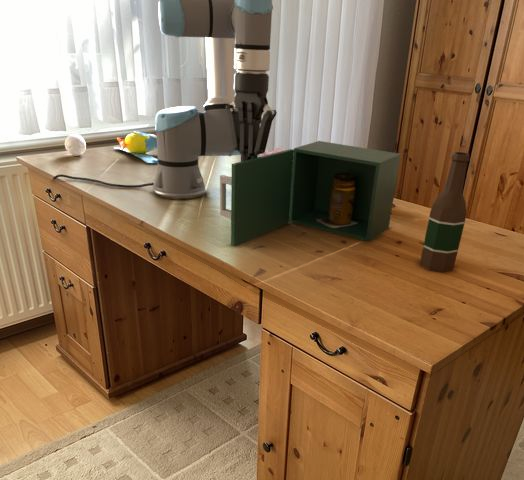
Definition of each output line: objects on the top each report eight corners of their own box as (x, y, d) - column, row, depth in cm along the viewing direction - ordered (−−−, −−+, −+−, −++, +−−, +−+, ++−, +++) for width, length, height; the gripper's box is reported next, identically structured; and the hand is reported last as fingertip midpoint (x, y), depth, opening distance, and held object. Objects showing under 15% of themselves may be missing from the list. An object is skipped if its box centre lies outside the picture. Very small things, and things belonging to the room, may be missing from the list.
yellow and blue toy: (102, 125, 202) (139, 123, 210) (104, 150, 206) (140, 147, 215) (137, 139, 183) (176, 136, 192) (139, 165, 188) (177, 161, 196)
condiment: (358, 223, 140) (364, 176, 134) (333, 229, 136) (339, 180, 130) (339, 216, 145) (344, 170, 139) (315, 221, 141) (319, 174, 135)
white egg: (63, 154, 198) (59, 133, 194) (83, 152, 202) (80, 131, 198) (72, 160, 191) (69, 138, 187) (93, 158, 195) (90, 136, 191)
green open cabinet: (368, 241, 132) (379, 162, 122) (288, 222, 142) (293, 148, 132) (388, 228, 141) (400, 153, 131) (312, 210, 151) (318, 140, 142)
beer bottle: (413, 259, 123) (435, 148, 110) (446, 259, 124) (472, 149, 111) (425, 272, 116) (449, 157, 104) (460, 273, 117) (488, 158, 105)
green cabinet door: (213, 239, 128) (213, 159, 119) (269, 217, 144) (273, 145, 134) (234, 246, 125) (235, 164, 116) (288, 223, 141) (293, 149, 131)
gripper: (217, 70, 117) (217, 181, 129) (264, 75, 110) (260, 191, 122) (239, 69, 122) (237, 176, 134) (286, 74, 115) (279, 186, 127)
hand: (248, 183), depth 128 cm, fingers closed
